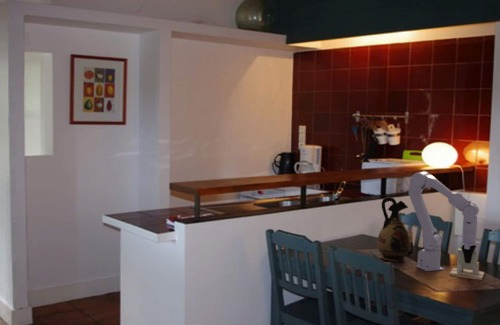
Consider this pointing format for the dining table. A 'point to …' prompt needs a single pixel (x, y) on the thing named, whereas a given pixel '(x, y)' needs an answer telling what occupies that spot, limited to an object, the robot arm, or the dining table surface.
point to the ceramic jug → (393, 233)
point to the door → (461, 260)
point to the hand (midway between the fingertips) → (468, 262)
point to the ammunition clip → (411, 240)
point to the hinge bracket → (467, 272)
